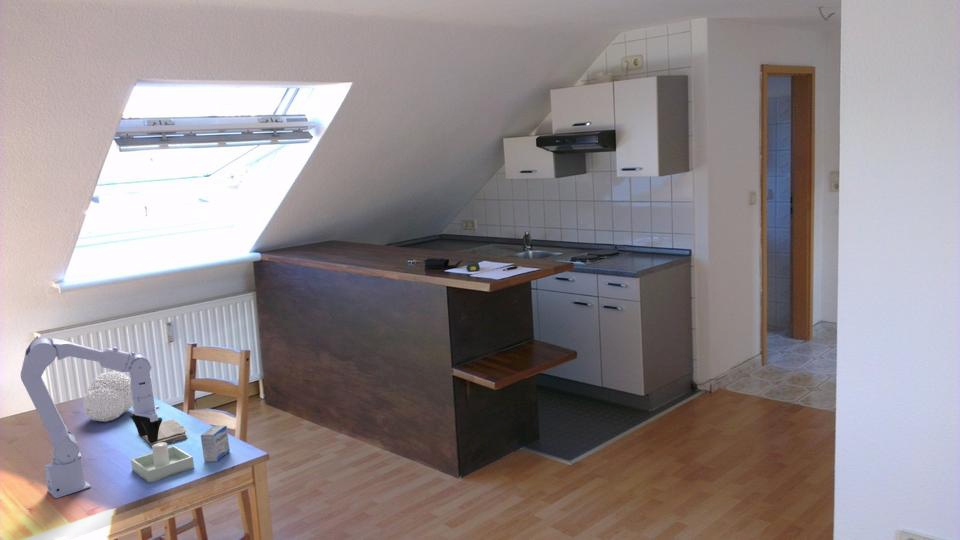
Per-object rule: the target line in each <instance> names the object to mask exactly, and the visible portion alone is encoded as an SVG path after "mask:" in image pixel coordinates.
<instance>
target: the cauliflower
mask: <svg viewBox="0 0 960 540" xmlns="http://www.w3.org/2000/svg"><path fill="white" fill-rule="evenodd" d="M91 381H92V382H90V385H89V386H88V387H87V388H88V389H87V392H86V393H85V395H84V397H83V402H82V405H83V406H82V407H83V410H84V414H85V415H86V417H87V418H88V419H90V420H93V421H96V422H106V423H107V422H109V421H110V422H111V421H114V420H116V419H117V418H120V416H122V415H123V414H125V413H126V412H127V411H129V410H130V409H131V408H133V399H132V392H131V385H130V381H131V378H130V376H129V375H126V373H123V372H121V371H116V370H114V371H107V372H103V373H100V374H98V375H97V376H96V377H95V378H94V379H93V380H91Z"/></svg>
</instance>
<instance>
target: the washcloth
mask: <svg viewBox="0 0 960 540" xmlns="http://www.w3.org/2000/svg"><path fill="white" fill-rule="evenodd" d="M186 432H187V430H186V429H185V428H184V425H181V424H180V423H179V422H178V421H176V420H175V419H168V420H165V421H162V422H161V424H160V427H159V432H158V440H157V442H154V443H149V441H148V437H147V435H146V436H143V437H142V438H143V439H144V440H145V442H147V443H148V444H149V446H151V447H152V446H153V445H154V444H157V443H162V442H165V443H167V445H169V444H171V443H176V442H178V441H183V440H186V439H188V436H187V434H186Z"/></svg>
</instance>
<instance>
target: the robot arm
mask: <svg viewBox="0 0 960 540" xmlns="http://www.w3.org/2000/svg"><path fill="white" fill-rule="evenodd" d="M23 357H24V358H23V361H22V367H21V371H20V379H21V382H22V384H23V386H24V388H25V390H26V392H27V394H28V396H29V398H30V400H31V401H32V404H33V406H34V407H35V410H36V412H37V413H38V415H39V417H40V419H41V421H42V423H43V426H44V428H45V429H46V432H47V433H48V436H49V439H50V441H51V446H52V449H53V458H52V461H51V462H50V463H48V464H45V465H44V475H45V480H46V486H47V492H48V493H49V494H50V495H51V496H52V497H53V498H54V499H58V498H59V499H60V498H62V497H64V496H68V495H71V494H74V493H76V492H77V493H78V492H79V491H80V492H81V491H83V490H85V489H86V490H87V489H89V488H91V487H92V485H91V484H90V483H89V482H88V481H86V475H85V471H84V470H85V469H84V463H83V457H82V453H81V452H80V448H79V444H78V439H77V436H76V435H75V434H74V433H73V432H72V431H71V430H69V429H68V427H67V425H66V424H65V422H64V419H63V417H62V416H61V413H60V412H59V410H58V408H57V405H56V403H55V402H54V399H53V398H52V395H51V393H50V392H49V389H48V388H47V387H48V386H47V385H46V384H45V381H44V380H43V377H42V376H43V374H44V372H45V370H46V369H47V367H49V366H50V365H51V364H52V363H53V362H54V361H55V359H56V357H57V361H60V360H61V361H62V360H64V359H67V358H68V357H72V358H76V359H81V360H82V359H83V360H88V361H93V362H98V363H99V364H100V366H101V368H104V369H107V370H112V371H113V370H114V371H115V372H120V373H129V378H130V379H131V381H130V385H131V392H132V399H133V406H132V410H133V413H131V414H129V417H130V419H131V420H132V422H133V423H134V425H135V428H136V429H137V433H138V435H139V437H140V438H143V436H146V435H147V437H148V441H149V443H154V442H157V440H158V432H159V427H160V424H161V422H163V418H162V417H158V413H157V410H159V409H160V406H159V405H157V404H156V405H155V398H154V390H153V389H154V388H153V381H152V378H151V371H152V365H151V363H150V361H149V360H148V358H147V357H146V356H145V355H144V354H141V353H140V352H134V351H130V352H128V351H123V350H119V348H118V347H116V346H113V347H111V348H110V347H107V348H105V349H103V350H100V349H96V348H93V347H89V346H86V345H82V344H78V343H75V342H72V341H67V340H63V339H59V338H53V337H52V339H51V338H49V337H47V336H38V337H36V338H34V339H33V340H32V341H31V342H30V344H29V345H28V347H27V348H26V350H25V354H24V356H23ZM149 443H148V444H149Z"/></svg>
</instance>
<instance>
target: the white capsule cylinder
mask: <svg viewBox="0 0 960 540" xmlns="http://www.w3.org/2000/svg"><path fill="white" fill-rule="evenodd" d="M168 446H169V444H167V443H165V442H162V443H157V444H154V445H153V446H151V449H152V453H153V457H154V465H155V468H158V467H161V466H164V465H167V464H170V461H169V453H168V448H169V447H168Z"/></svg>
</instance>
